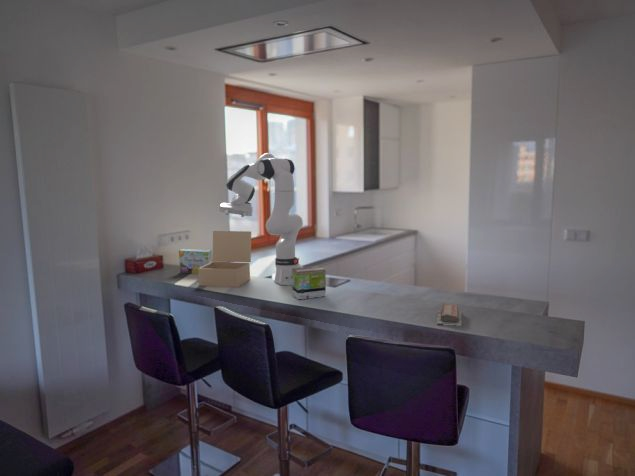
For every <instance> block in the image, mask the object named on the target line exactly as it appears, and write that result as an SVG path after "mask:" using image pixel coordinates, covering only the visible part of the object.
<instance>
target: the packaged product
mask: <svg viewBox="0 0 635 476" xmlns="http://www.w3.org/2000/svg"><path fill="white" fill-rule="evenodd" d="M437 324H453V325H461V326H462V311H459V306H458V305H456V304H452V303H451V304H450V303H444V304H442V308H441V309H438V311H437V318H436V325H437Z"/></svg>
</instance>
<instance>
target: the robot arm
mask: <svg viewBox="0 0 635 476" xmlns="http://www.w3.org/2000/svg"><path fill="white" fill-rule="evenodd" d="M295 170H296V168H295V163H294V162H293V160H291V159H288V158H278V157H277V158H276V157H275V156H274V155H273V154H272V153H269V152H266V153H263V154H262V155H260V157H258V159H257V160H256V161H255V162H254V163H251V164H250V163H249V164H248V163H246V164H245V165H244V166H243V167H242V168H240V169H239V170H238V171H237V172H236V173H234V174H233V175H231V176H230V177H229V178H228V179H227V180H226V183H225V185H226V187H227V190H229V191H231V192H233V193H235V194H234V195H233V196H232V199H231V202H230V203H229V202H222V203H220V205H219V209H218V210H219V212H220V213H224V214H225V215H226V216H228V215H229V214H232V215H239V216H240V217H241V218H244V217H252V216H253V206H252V203H251V202H250V201H251V200H252V199H253V198H254V195H255V193H256V192H255V191H256V189H255V186H254V185H252V184H251V183H249V182H247V181H245V180H243V179H242V178H245V177H248V178H251V179H254V180H256V181H263V180H265V179H267V180H269V181H270V180H271V179H272V180H273V182H274V203H273V204H274V206H273V209H272V210H271V211H272V212H271V213H270V216H269V218H268V219H267V220H266V223H265V229H266V232H267V233H268V234H269V235H270V236H280V237H279V239H278V241H277V242H276V243H275V260H274V264H275V274H274V275H275V277H274V283H275V284H278V285H280V286H292V268H301V267H304V266H302V265H301V264H300V263H299V260H300V257H296V242H297V241H296V240H297V237H298V234H299V231H300V230H301V229H302V227H303V225H304V221H303V218H302V217H301V216H300V215H299V214H296V213H290V211H291V209H292V208H293V207H294V204H295V183H294V176H293V175H294V173H295Z"/></svg>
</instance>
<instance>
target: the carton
mask: <svg viewBox="0 0 635 476" xmlns="http://www.w3.org/2000/svg"><path fill="white" fill-rule="evenodd" d="M250 268H251V267H250V262H221V261H212V262H211V263H209V264H207V265H205V266H202V267H200V268H198V274H197V275H198V285H199V286H202V287H223V288H224V287H225V288H226V287H228V288H239V287H241V286H242V285H244V284H246V283H247V282H248V281H250V280H251V270H250ZM240 285H241V286H240Z"/></svg>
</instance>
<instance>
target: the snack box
mask: <svg viewBox="0 0 635 476" xmlns="http://www.w3.org/2000/svg"><path fill="white" fill-rule="evenodd" d="M212 257H213V249H211V250H210V249H193V248H186V249H185V248H182V249H179V250H178V259H179V270H180V273H181V274H192V273H194V275H198V268H200V267H202V266H205V265H207V264H209V263H211V262H213V261H212Z"/></svg>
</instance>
